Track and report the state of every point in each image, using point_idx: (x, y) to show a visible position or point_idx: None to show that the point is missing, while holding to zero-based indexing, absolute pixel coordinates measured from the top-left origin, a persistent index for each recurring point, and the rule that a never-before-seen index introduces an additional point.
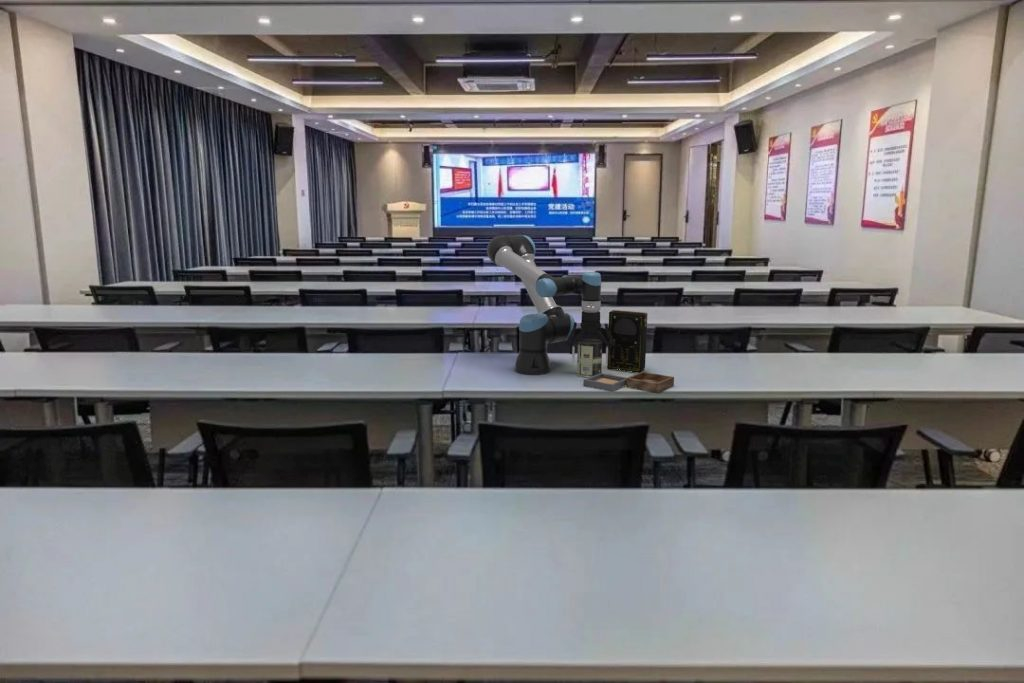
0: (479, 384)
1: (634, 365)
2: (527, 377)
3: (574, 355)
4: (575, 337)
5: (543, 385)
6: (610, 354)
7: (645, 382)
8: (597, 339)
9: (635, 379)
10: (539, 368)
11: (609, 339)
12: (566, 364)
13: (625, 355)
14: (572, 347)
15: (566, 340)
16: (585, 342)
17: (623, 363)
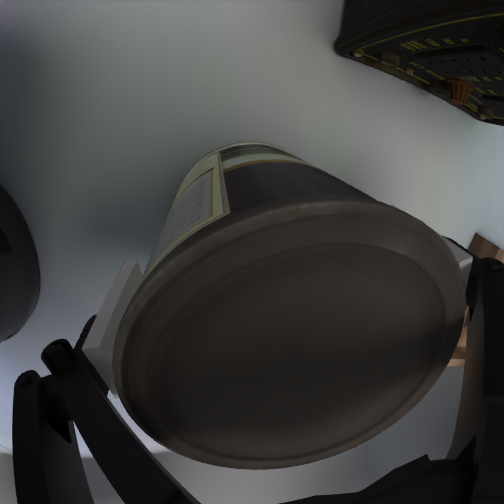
0: (10, 425)
1: (486, 116)
2: (29, 358)
3: (126, 285)
4: (91, 445)
5: (133, 421)
6: (404, 36)
7: (464, 364)
8: (426, 235)
9: (449, 362)
10: (18, 330)
11: (491, 3)
12: (53, 37)
13: (490, 86)
14: (117, 394)
15: (17, 402)
16: (260, 442)
17: (446, 81)
